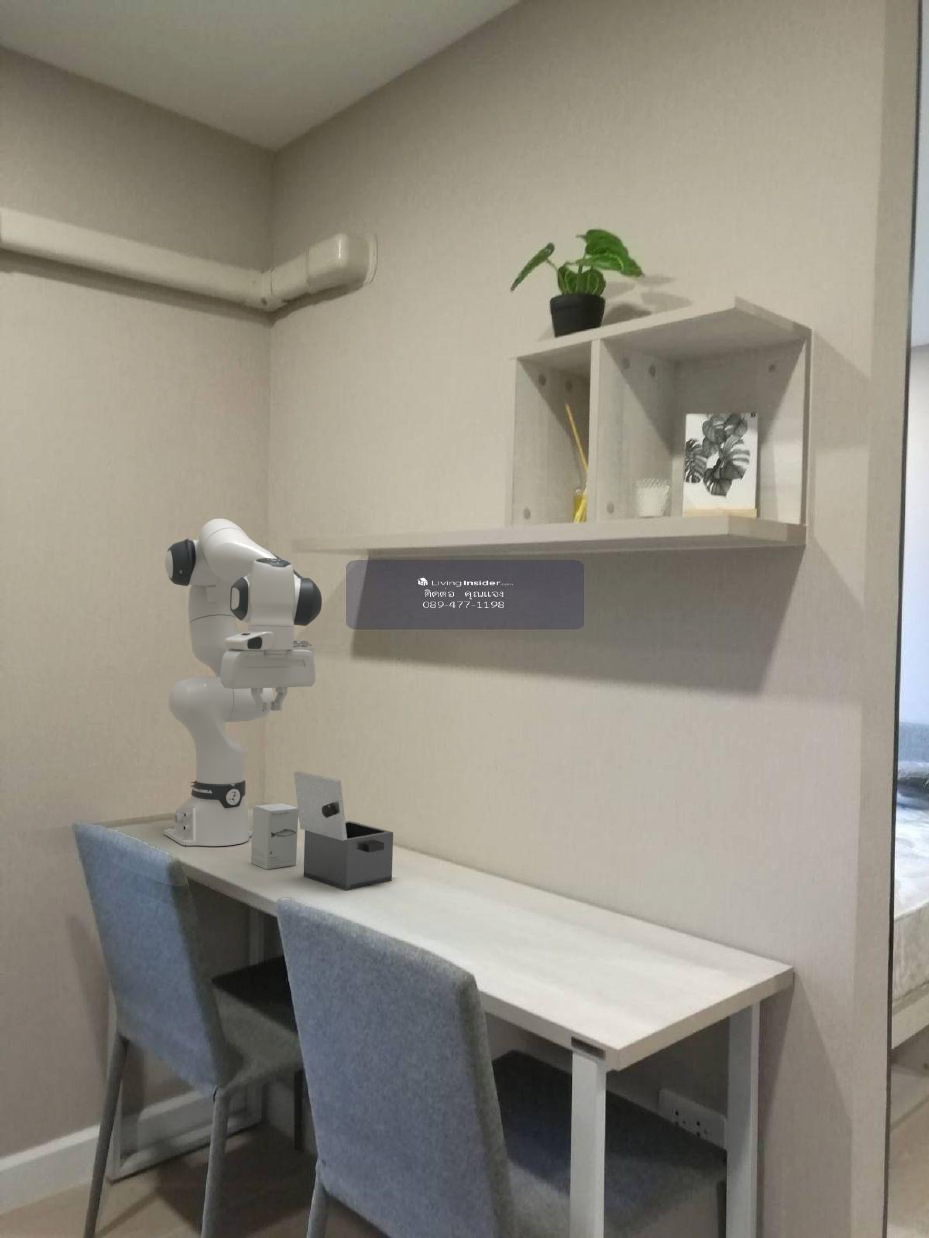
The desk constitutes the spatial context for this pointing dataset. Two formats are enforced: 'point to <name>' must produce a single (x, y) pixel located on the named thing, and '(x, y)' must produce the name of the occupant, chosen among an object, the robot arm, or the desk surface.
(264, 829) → the supplement box
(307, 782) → the lid
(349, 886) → the grey storage bin
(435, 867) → the desk surface
